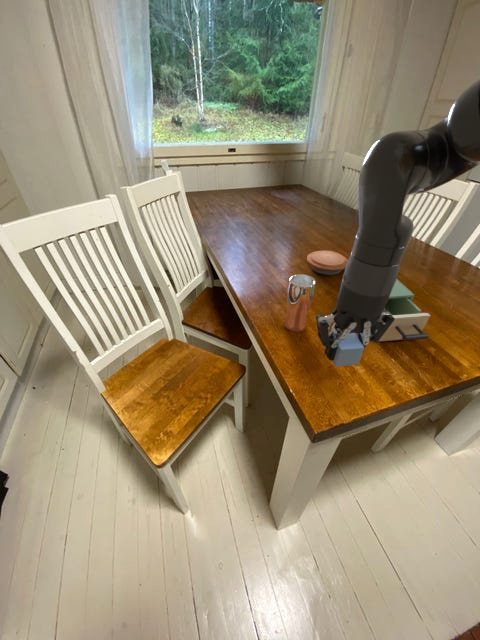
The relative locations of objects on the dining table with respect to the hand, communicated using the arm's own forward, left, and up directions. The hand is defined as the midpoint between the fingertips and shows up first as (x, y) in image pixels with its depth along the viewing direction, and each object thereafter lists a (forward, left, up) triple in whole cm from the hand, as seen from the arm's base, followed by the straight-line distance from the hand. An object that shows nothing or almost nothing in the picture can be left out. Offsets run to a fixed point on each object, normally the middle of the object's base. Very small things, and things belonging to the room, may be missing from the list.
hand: (342, 356), depth 54 cm
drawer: (-3, -30, -10) cm, 32 cm away
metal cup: (+18, -15, -12) cm, 26 cm away
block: (0, 0, 0) cm, 0 cm away
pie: (+27, -53, -12) cm, 60 cm away
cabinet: (+5, -38, -11) cm, 40 cm away
